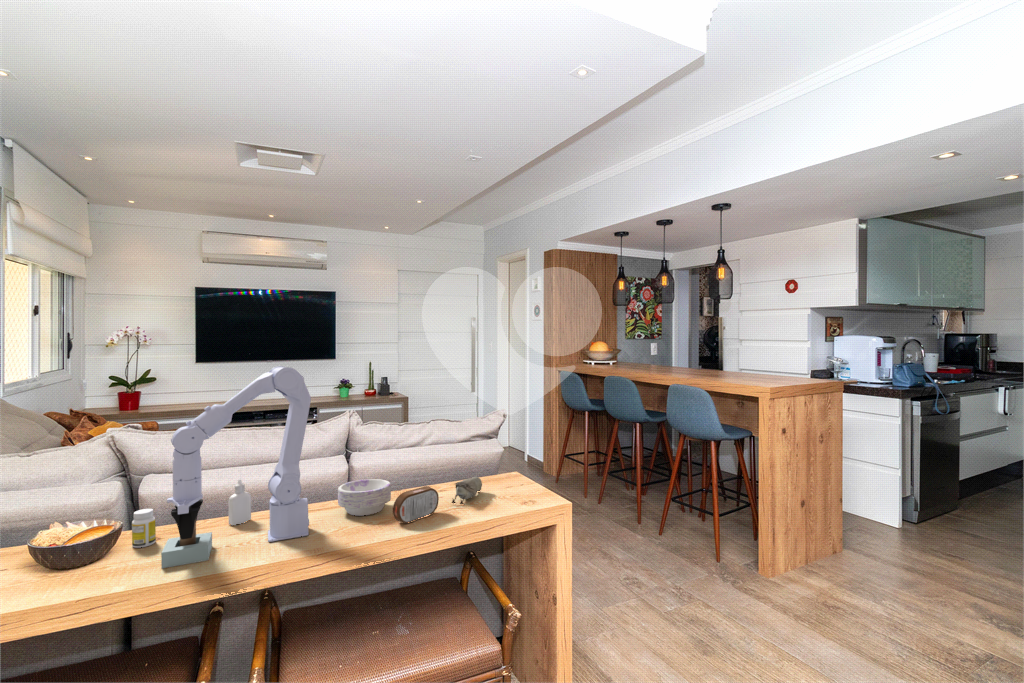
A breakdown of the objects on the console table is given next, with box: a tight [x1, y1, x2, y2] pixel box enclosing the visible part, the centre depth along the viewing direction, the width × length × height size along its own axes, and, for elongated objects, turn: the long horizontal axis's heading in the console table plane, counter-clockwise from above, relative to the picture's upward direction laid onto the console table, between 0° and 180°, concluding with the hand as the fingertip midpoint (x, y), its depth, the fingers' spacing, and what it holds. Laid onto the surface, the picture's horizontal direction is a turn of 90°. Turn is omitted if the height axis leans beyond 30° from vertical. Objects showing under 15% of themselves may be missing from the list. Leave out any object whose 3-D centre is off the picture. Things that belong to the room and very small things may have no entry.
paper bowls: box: [337, 478, 392, 517], centre depth 148 cm, size 15×15×8 cm
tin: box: [392, 485, 440, 524], centre depth 141 cm, size 15×3×8 cm, turn 140°
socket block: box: [160, 531, 213, 569], centre depth 117 cm, size 9×9×4 cm
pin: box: [179, 520, 197, 546], centre depth 117 cm, size 3×3×8 cm
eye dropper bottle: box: [228, 479, 252, 526], centre depth 140 cm, size 4×6×12 cm
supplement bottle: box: [131, 508, 157, 549], centre depth 125 cm, size 5×5×8 cm
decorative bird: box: [451, 475, 483, 505], centre depth 158 cm, size 5×16×8 cm, turn 158°
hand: (187, 535), depth 117 cm, fingers closed on pin, 3 cm apart
